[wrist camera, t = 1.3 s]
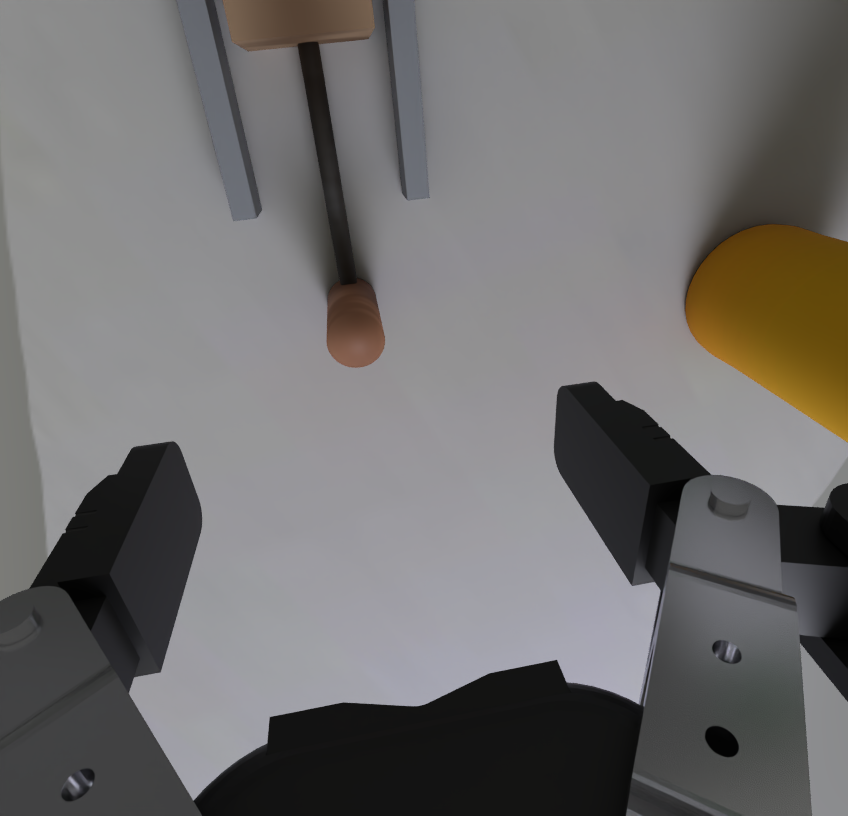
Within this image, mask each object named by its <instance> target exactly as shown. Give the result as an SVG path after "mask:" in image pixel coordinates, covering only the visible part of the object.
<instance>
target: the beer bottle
mask: <svg viewBox="0 0 848 816" xmlns="http://www.w3.org/2000/svg"><path fill="white" fill-rule="evenodd" d="M685 311H686V319H687V323H688V326H689V329H690V332H691V333H692V334H693V336H694V337H695V339H696V340H697V342H698V343H699V344H700V345H701V346H703V347H704V348H705V349H706V350H707V351H708V352H709V353H711V354H712V355H714V356H715V357H717V358H719V359H720V360H722V361H724V362H725V363H727V364H729V365H731V366H732V367H734V368H735V369H737V370H739V371H740V372H742V373H743V374H745V375H746V376H748V377H749V378H751V379H752V380H754V381H755V382H757V383H758V384H760V385H761V386H763V387H764V388H766V389H767V390H769V391H770V392H772V393H773V394H775V395H776V396H778V397H779V398H781V399H783V400H784V401H786V402H787V403H789V404H790V405H792V406H793V407H795V408H796V409H798V410H799V411H801V412H802V413H804V414H805V415H807V416H808V417H810V418H811V419H813V420H814V421H816V422H817V423H819V424H820V425H822V426H823V427H825V428H826V429H828V430H829V431H831V432H832V433H834V434H836V435H837V436H839V437H840V438H842V439H843V440H845V441H846V442H848V242H846V241H842V240H839V239H835V238H831V237H828V236H825V235H821V234H818V233H815V232H812V231H809V230H806V229H803V228H800V227H796V226H790V225H779V224H767V225H760V226H755V227H752V228H749V229H746V230H743V231H741V232H739V233H737V234H735V235H733V236H731V237H729V238H728V239H727V240H725V241H724V242H722V243H721V244H720V245H718V246H717V247H716V248H715V249H714V250H713V251H712V252H711V253H710V254H709V255H708V256H707V258H706V259H705V260H704V261H703V263H702V264H701V265H700V267H699V268H698V270H697V272H696V273H695V275H694V277H693V279H692V282H691V284H690V286H689V290H688V294H687V298H686V308H685Z"/></svg>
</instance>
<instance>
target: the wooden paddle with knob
mask: <svg viewBox="0 0 848 816" xmlns="http://www.w3.org/2000/svg"><path fill="white" fill-rule="evenodd" d="M223 4H224V8H225V13H226V17H227V21H228V26H229V30H230V34H231V39H232V42H233V43H235V44H237V45H238V46H240V47H242V48H243V49H245V50H247V51H257V50H266V49H276V48H286V47H296V46H298V50H299V55H300V61H301V67H302V72H303V78H304V83H305V89H306V95H307V100H308V106H309V111H310V117H311V123H312V128H313V134H314V139H315V145H316V151H317V156H318V162H319V167H320V173H321V179H322V184H323V190H324V195H325V201H326V207H327V212H328V218H329V223H330V229H331V235H332V240H333V246H334V251H335V257H336V263H337V268H338V274H339V279H340V280H339V281H338V282H336V283H335V284H334V285H333V286H332V288H331V289H330V292H329V294H328V309H327V347H328V350H329V352H330V354H331V355H332V357H333V358H334V359H335V360H336V361H338V362H339V363H341V364H342V365H345V366H348V367H355V368H357V367H364V366H367V365H369V364H371V363H373V362H374V361H375V360H377V359H378V357H379V356H380V355H381V353H382V351H383V349H384V345H385V336H384V332H383V327H382V322H381V318H380V313H379V309H378V304H377V300H376V295H375V292H374V290H373V289H372V287H371V286H370V285H369V284H368V283H367V282H365V281H364V280H362V279H359V278H356V272H355V266H354V260H353V254H352V247H351V241H350V235H349V229H348V223H347V216H346V210H345V204H344V198H343V192H342V186H341V179H340V173H339V167H338V161H337V155H336V149H335V142H334V136H333V130H332V124H331V118H330V112H329V105H328V99H327V93H326V87H325V81H324V74H323V68H322V62H321V56H320V50H319V44H325V43H335V42H345V41H355V40H364V39H369V37H370V35H371V33H372V32H373V30H374V28H375V24H374V16H373V7H372V0H223Z"/></svg>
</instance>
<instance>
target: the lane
mask: <svg viewBox="0 0 848 816" xmlns="http://www.w3.org/2000/svg"><path fill="white" fill-rule="evenodd" d="M176 1H177V5H178V9H179V13H180V16H181V20H182V24H183V28H184V32H185V36H186V40H187V44H188V47H189V51H190V55H191V59H192V63H193V67H194V71H195V75H196V78H197V82H198V86H199V90H200V94H201V98H202V102H203V106H204V109H205V113H206V117H207V121H208V125H209V129H210V133H211V137H212V140H213V144H214V148H215V152H216V156H217V160H218V164H219V168H220V171H221V175H222V179H223V183H224V187H225V191H226V195H227V199H228V203H229V206H230V210H231V214H232V218H233V221H238V220H247V219H255V218H257V217H258V215H259V214H260V212H261V211H262V208H261V203H260V199H259V195H258V190H257V186H256V182H255V177H254V173H253V169H252V164H251V160H250V156H249V151H248V147H247V142H246V138H245V134H244V129H243V125H242V121H241V116H240V112H239V108H238V103H237V99H236V95H235V90H234V86H233V81H232V77H231V73H230V68H229V64H228V60H227V55H226V51H225V47H224V42H223V38H222V34H221V29H220V25H219V20H218V16H217V12H216V7H215V3H214V0H176ZM383 8H384V18H385V28H386V38H387V47H388V57H389V67H390V77H391V87H392V97H393V106H394V116H395V126H396V136H397V146H398V156H399V165H400V175H401V185H402V194H403V195H404V196H405V198H406V199H407V200H416V199H424V198H430V197H429V184H428V171H427V158H426V145H425V133H424V120H423V107H422V94H421V81H420V68H419V56H418V43H417V30H416V17H415V4H414V0H383Z"/></svg>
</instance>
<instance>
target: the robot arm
mask: <svg viewBox="0 0 848 816" xmlns="http://www.w3.org/2000/svg"><path fill="white" fill-rule="evenodd" d="M554 454H555V460H556V464H557V467H558V470H559V472H560V474H561V476H562V477H563V479H564V481H565V482H566V484H567V485H568V487H569V488H570V490H571V491H572V493H573V495H574V496H575V498H576V499H577V501H578V502H579V504H580V506H581V507H582V509H583V510H584V512H585V513H586V515H587V516H588V518H589V520H590V521H591V523H592V524H593V526H594V527H595V529H596V530H597V532H598V534H599V535H600V537H601V538H602V540H603V541H604V543H605V545H606V546H607V548H608V549H609V551H610V552H611V554H612V555H613V557H614V559H615V560H616V562H617V563H618V565H619V566H620V568H621V570H622V571H623V573H624V574H625V576H626V577H627V579H628V580H629V582H630V584H631V585H632V586H634V585H640V584H645V583H650V582H655V583H656V584H657V586H658V587H659V589H660V590H661V591H660V596H659V601H658V606H657V611H656V616H655V621H654V627H653V632H652V637H651V642H650V648H649V653H648V658H647V664H646V669H645V674H644V679H643V684H642V689H641V694H640V699H639V704H637V703H635V702H633V701H631V700H629V699H627V698H625V697H623V696H620V695H618V694H615V693H613V692H610V691H607V690H604V689H600V688H597V687H593V686H588V685H583V684H577V683H566V681H565V678H564V676H563V673H562V671H561V669H560V666H559V664H558V661H557V660H554V661H549V662H544V663H539V664H534V665H529V666H524V667H519V668H514V669H509V670H504V671H499V672H494V673H489V674H487V675H485V676H483V677H481V678H479V679H477V680H475V681H473V682H471V683H469V684H467V685H465V686H463V687H461V688H458V689H456V690H454V691H452V692H450V693H448V694H446V695H444V696H442V697H440V698H438V699H436V700H434V701H432V702H430V703H428V704H425V705H422V706H395V705H377V704H360V703H339V704H334V705H329V706H324V707H319V708H314V709H309V710H304V711H299V712H294V713H289V714H284V715H278V716H273V717H270V721H269V732H268V744H266V745H263V746H261V747H259V748H257V749H256V750H254V751H252V752H251V753H249V754H247V755H246V756H244V757H243V758H241V759H239V760H238V761H237V762H235V763H234V764H233V765H231V766H230V767H229V768H227V769H226V770H225V771H224V772H222V773H221V774H220V775H219V776H218V777H217V778H216V779H215V780H213V781H212V782H211V783H210V784H209V785H208V786H207V787H206V788H205V789H204V790H203V791H202V792H201V793H200V794H199V795H198V797H197V798H196V799H195V800H194V801H193V800H192V798H191V796H190V795H189V793H188V791H187V790H186V788H185V786H184V785H183V783H182V781H181V780H180V778H179V776H178V775H177V773H176V771H175V770H174V768H173V766H172V765H171V763H170V762H169V760H168V758H167V757H166V755H165V753H164V752H163V750H162V748H161V747H160V745H159V743H158V742H157V740H156V738H155V737H154V735H153V733H152V732H151V730H150V728H149V727H148V725H147V723H146V722H145V720H144V718H143V717H142V715H141V713H140V712H139V710H138V708H137V707H136V705H135V703H134V702H133V700H132V699H131V697H130V695H129V691H130V688H131V685H132V681H133V678H134V677H138V676H143V675H148V674H154V673H159V672H161V669H162V665H163V662H164V659H165V655H166V652H167V648H168V645H169V641H170V638H171V634H172V631H173V627H174V624H175V620H176V617H177V613H178V610H179V606H180V603H181V599H182V596H183V592H184V589H185V585H186V582H187V578H188V575H189V571H190V568H191V564H192V561H193V557H194V554H195V550H196V547H197V544H198V540H199V537H200V533H201V528H202V512H201V506H200V502H199V499H198V496H197V493H196V490H195V488H194V485H193V482H192V479H191V477H190V474H189V471H188V468H187V466H186V463H185V460H184V457H183V455H182V452H181V450H180V448H179V446H178V445H177V443H176V442H173V441H172V442H165V443H158V444H151V445H144V446H137V447H133V448H132V449H131V451H130V452H129V454H128V456H127V458H126V459H125V461H124V463H123V465H122V467H121V468H120V470H119V472H118V474H115V475H108V476H107V477H106V478H105V479H104V480H102V481H101V482H100V483H99V484H98V485H97V486H95V487H94V488H93V489H92V490H91V491H90V492H88V493H87V495H86V496H85V498H84V499H83V501H82V503H81V504H80V506H79V508H78V509H77V511H76V513H75V514H76V516H75V517H73V518H72V519H71V521H70V523H69V524H68V526H67V527H66V529H65V530H66V533H63V534H62V536H61V537H60V539H59V541H58V542H57V544H56V546H55V547H54V549H53V551H52V552H51V554H50V555H49V557H48V559H47V560H46V562H45V564H44V565H43V567H42V569H41V570H40V572H39V574H38V575H37V577H36V579H35V580H34V582H33V584H32V585H31V587H30V588H29V589H27V590H24V591H21V592H18V593H16V594H13V595H11V596H9V597H7V598H5V599H3V600H1V601H0V816H812V810H811V794H810V780H809V767H808V751H807V737H806V724H805V709H804V694H803V680H802V666H801V651H800V643H801V645H802V646H803V647H804V648H805V650H806V651H807V652H808V653H809V654H810V656H811V657H812V658H813V659H814V661H815V662H816V663H817V664H818V665H819V667H820V668H821V669H822V670H823V672H824V673H825V674H826V675H827V677H828V678H829V679H830V680H831V682H832V683H833V684H834V685H835V686H836V688H837V689H838V690H839V692H840V693H841V694H842V695H843V696H844V698H845V699H846V700H847V701H848V483H847V484H842V485H840V486H837V487H836V488H834V489H833V491H832V492H831V493H830V496H829V498H828V501H827V503H826V506H825V508H819V507H803V506H786V505H776V503H775V502H774V500H773V499H772V498H771V497H770V496H769V495H768V494H767V493H766V492H764V491H763V490H762V489H760V488H758V487H757V486H755V485H753V484H751V483H748V482H746V481H743V480H740V479H737V478H733V477H728V476H722V475H711V474H710V473H709V472H708V471H707V470H706V469H705V468H704V467H703V466H701V465H700V464H699V463H698V462H697V461H696V460H695V459H694V458H693V457H692V456H691V455H690V454H689V453H688V452H687V451H686V450H685V449H684V448H683V447H682V446H681V445H680V444H678V443H677V442H676V441H675V440H674V439H671V438H670V435H669V434H668V433H667V432H666V431H665V430H664V429H663V428H662V427H659V426H658V423H657V422H655V421H654V420H653V419H652V418H651V417H650V416H649V415H648V414H647V413H646V412H645V411H644V410H642V409H640V408H638V407H636V406H634V405H632V404H630V403H628V402H625V401H623V400H620V401H615V400H614V399H613V398H612V397H611V396H610V395H609V394H608V393H607V391H606V390H605V389H604V388H603V387H602V386H601V385H600V384H598V383H597V382H588V383H581V384H574V385H567V386H562V387H560V388H559V390H558V394H557V405H556V422H555V438H554Z"/></svg>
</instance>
